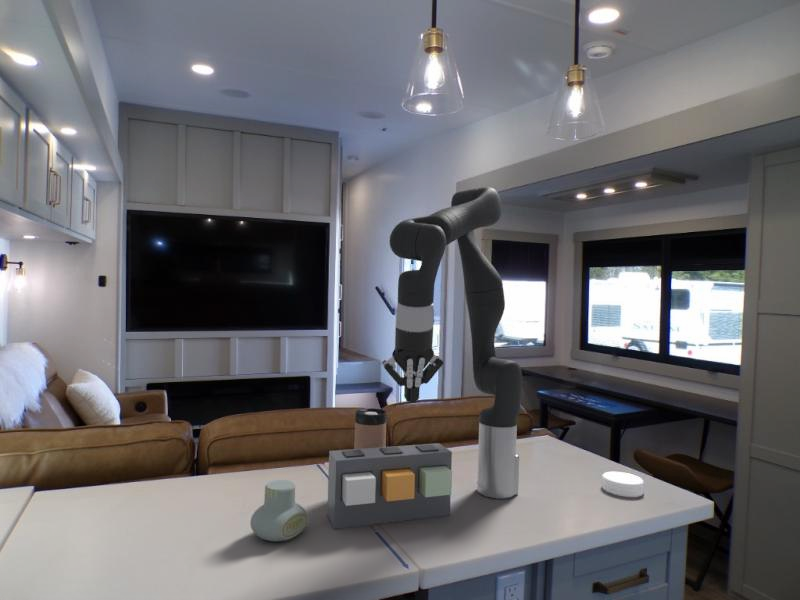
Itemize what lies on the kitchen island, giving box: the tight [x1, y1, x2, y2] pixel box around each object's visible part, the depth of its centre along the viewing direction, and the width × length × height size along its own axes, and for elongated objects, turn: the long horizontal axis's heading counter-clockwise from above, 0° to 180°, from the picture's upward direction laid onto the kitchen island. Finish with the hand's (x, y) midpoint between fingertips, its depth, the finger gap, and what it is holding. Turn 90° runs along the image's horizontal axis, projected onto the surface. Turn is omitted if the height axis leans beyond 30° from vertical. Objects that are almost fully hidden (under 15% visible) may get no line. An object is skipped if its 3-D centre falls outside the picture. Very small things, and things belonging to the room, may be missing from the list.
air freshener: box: [249, 479, 308, 542], centre depth 102 cm, size 11×8×10 cm
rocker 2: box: [418, 465, 453, 497], centre depth 112 cm, size 6×7×5 cm
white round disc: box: [601, 471, 645, 498], centre depth 132 cm, size 10×10×4 cm
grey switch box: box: [326, 443, 453, 530], centre depth 112 cm, size 26×7×14 cm, turn 109°
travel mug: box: [353, 408, 387, 449], centre depth 124 cm, size 8×8×20 cm
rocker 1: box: [341, 471, 376, 506], centre depth 106 cm, size 6×7×5 cm
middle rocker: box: [380, 468, 415, 501], centre depth 109 cm, size 6×7×5 cm
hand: (411, 401), depth 107 cm, fingers closed
